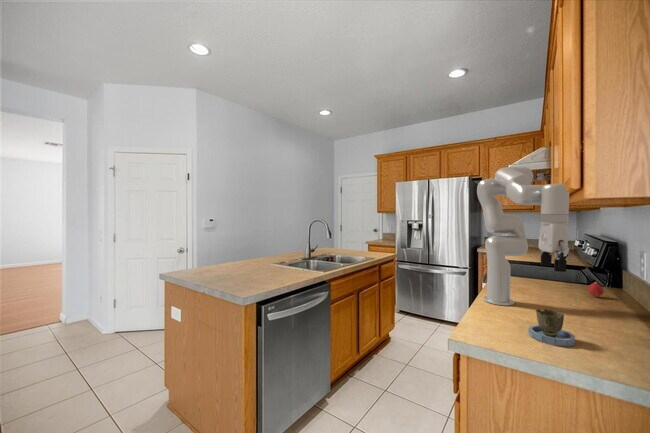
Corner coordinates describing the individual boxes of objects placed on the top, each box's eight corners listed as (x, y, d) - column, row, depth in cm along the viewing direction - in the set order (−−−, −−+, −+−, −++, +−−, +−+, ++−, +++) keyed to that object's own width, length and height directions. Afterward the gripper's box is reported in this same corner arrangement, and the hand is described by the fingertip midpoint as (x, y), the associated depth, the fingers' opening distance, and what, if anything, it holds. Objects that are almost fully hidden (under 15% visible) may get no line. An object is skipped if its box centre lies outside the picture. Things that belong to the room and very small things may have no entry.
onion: (584, 295, 146) (584, 280, 146) (593, 295, 147) (593, 280, 147) (597, 299, 141) (597, 283, 141) (606, 298, 142) (606, 282, 142)
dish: (522, 329, 102) (522, 323, 102) (561, 333, 99) (562, 327, 99) (539, 344, 90) (539, 337, 90) (583, 348, 87) (583, 341, 87)
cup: (546, 339, 92) (545, 314, 92) (531, 331, 99) (530, 308, 99) (570, 340, 91) (570, 315, 91) (553, 331, 98) (553, 308, 99)
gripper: (530, 218, 108) (529, 262, 108) (554, 220, 91) (552, 273, 92) (554, 218, 106) (552, 264, 106) (582, 221, 89) (580, 274, 90)
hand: (552, 268), depth 99 cm, fingers open, 9 cm apart
